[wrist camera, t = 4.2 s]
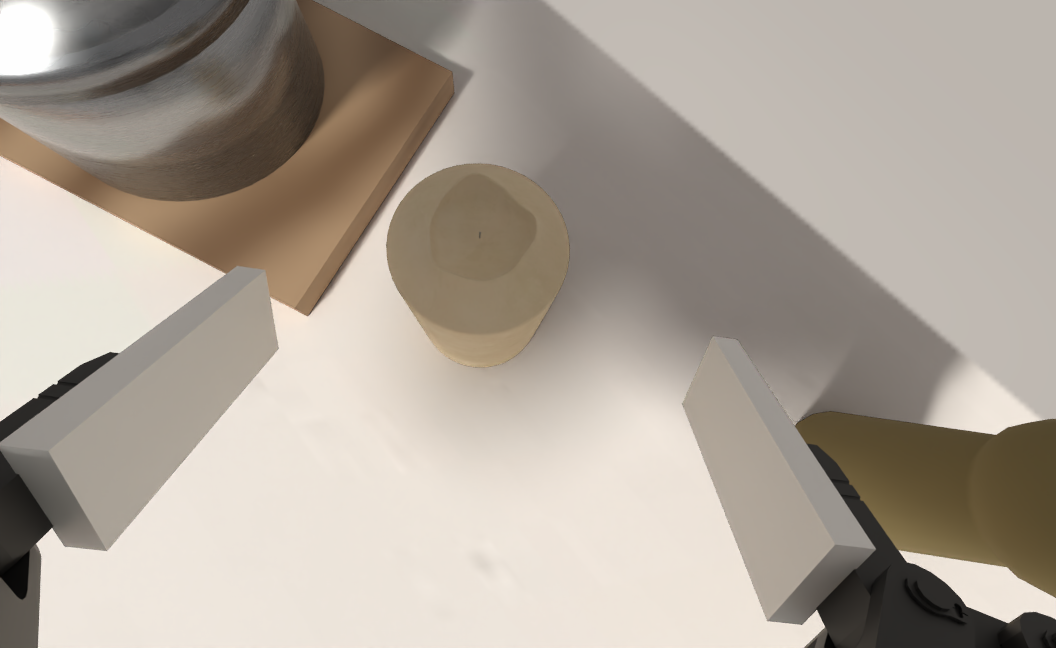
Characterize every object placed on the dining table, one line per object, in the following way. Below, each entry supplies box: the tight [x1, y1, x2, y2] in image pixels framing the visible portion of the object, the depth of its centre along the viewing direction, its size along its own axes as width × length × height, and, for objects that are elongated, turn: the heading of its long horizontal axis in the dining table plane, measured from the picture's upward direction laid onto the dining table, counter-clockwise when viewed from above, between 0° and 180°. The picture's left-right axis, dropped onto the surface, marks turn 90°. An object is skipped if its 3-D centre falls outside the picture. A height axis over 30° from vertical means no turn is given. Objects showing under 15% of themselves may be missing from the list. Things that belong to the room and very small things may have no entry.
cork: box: [795, 411, 1056, 598], centre depth 17 cm, size 6×6×11 cm
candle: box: [386, 164, 570, 367], centre depth 17 cm, size 6×6×10 cm
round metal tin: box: [0, 0, 325, 202], centre depth 17 cm, size 13×13×8 cm
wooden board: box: [0, 0, 454, 316], centre depth 22 cm, size 20×14×2 cm
